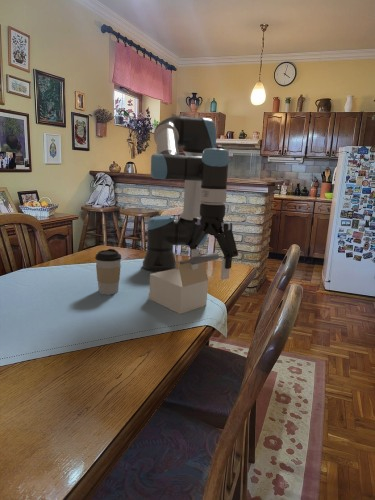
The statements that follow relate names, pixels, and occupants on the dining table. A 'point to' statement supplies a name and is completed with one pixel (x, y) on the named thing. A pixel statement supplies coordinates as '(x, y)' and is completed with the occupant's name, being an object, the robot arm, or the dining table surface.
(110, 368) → the dining table surface
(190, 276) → the drawer with bar handle
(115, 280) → the coffee cup
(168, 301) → the carton
